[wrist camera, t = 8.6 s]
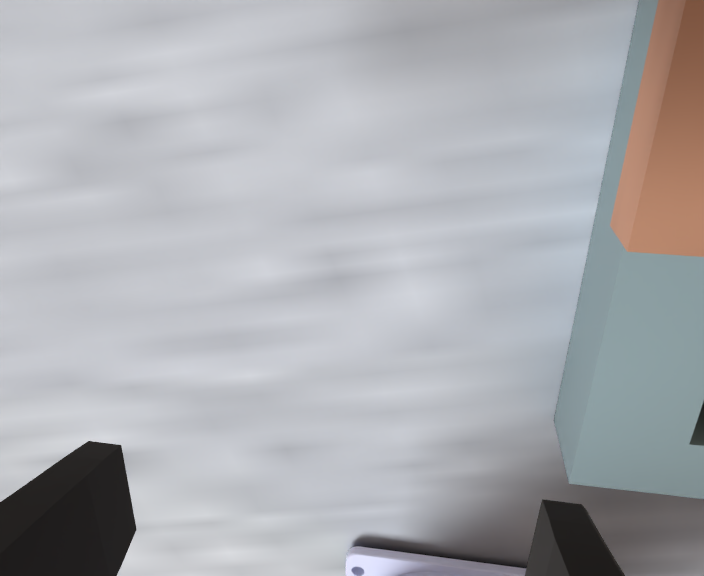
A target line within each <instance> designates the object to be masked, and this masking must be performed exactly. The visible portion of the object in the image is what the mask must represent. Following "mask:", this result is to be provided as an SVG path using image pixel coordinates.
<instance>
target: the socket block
mask: <svg viewBox="0 0 704 576" xmlns="http://www.w3.org/2000/svg"><path fill="white" fill-rule="evenodd" d="M657 5H658V0H639V3H638V8H637V13H636V18H635V23H634V28H633V33H632V38H631V43H630V48H629V52H628V57H627V62H626V67H625V72H624V77H623V82H622V87H621V92H620V97H619V102H618V107H617V112H616V117H615V122H614V126H613V131H612V136H611V141H610V146H609V151H608V156H607V161H606V166H605V171H604V176H603V181H602V186H601V191H600V195H599V200H598V205H597V210H596V215H595V220H594V225H593V230H592V235H591V240H590V245H589V250H588V255H587V260H586V265H585V269H584V274H583V279H582V284H581V289H580V294H579V299H578V304H577V309H576V314H575V319H574V324H573V329H572V334H571V339H570V343H569V348H568V353H567V358H566V363H565V368H564V373H563V378H562V383H561V388H560V393H559V398H558V403H557V408H556V412H555V417H554V422H555V427H556V431H557V435H558V439H559V444H560V448H561V452H562V456H563V461H564V465H565V469H566V473H567V477H568V482H569V484H576V485H584V486H593V487H602V488H610V489H619V490H628V491H637V492H645V493H654V494H663V495H672V496H680V497H689V498H698V499H704V257H697V256H682V255H667V254H653V253H638V252H627V251H626V249H625V248H624V246H623V245H622V243H621V242H620V240H619V239H618V237H617V236H616V234H615V233H614V231H613V230H612V228H611V227H610V223H611V218H612V214H613V209H614V204H615V200H616V195H617V190H618V186H619V181H620V176H621V172H622V167H623V163H624V158H625V153H626V149H627V144H628V139H629V135H630V130H631V125H632V121H633V116H634V111H635V107H636V102H637V98H638V93H639V88H640V84H641V79H642V74H643V70H644V65H645V60H646V56H647V51H648V47H649V42H650V37H651V33H652V28H653V23H654V19H655V14H656V9H657Z"/></svg>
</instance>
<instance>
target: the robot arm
mask: <svg viewBox="0 0 704 576" xmlns="http://www.w3.org/2000/svg"><path fill="white" fill-rule="evenodd" d="M135 531H136V525H135V519H134V514H133V508H132V503H131V497H130V492H129V486H128V481H127V475H126V469H125V464H124V458H123V453H122V447H121V445H115V444H107V443H99V442H92V441H88V442H87V443H85V444H84V445H82V446H81V447H79V448H78V449H76V450H75V451H73V452H72V453H70V454H69V455H67V456H66V457H64V458H63V459H62V460H60V461H59V462H57V463H56V464H54V465H53V466H52V467H50V468H49V469H47V470H46V471H44V472H43V473H42V474H40V475H39V476H37V477H36V478H35V479H33V480H32V481H30V482H29V483H27V484H26V485H25V486H23V487H22V488H20V489H19V490H17V491H16V492H15V493H13V494H12V495H10V496H9V497H7V498H6V499H4V500H3V501H2V502H0V576H117V573H118V571H119V569H120V567H121V565H122V562H123V560H124V558H125V555H126V553H127V551H128V548H129V546H130V543H131V541H132V539H133V536H134V534H135ZM346 576H625V575H624V573H623V572H622V570H621V568H620V567H619V565H618V564H617V562H616V560H615V559H614V557H613V555H612V554H611V552H610V550H609V549H608V547H607V545H606V544H605V542H604V540H603V538H602V537H601V535H600V533H599V532H598V530H597V528H596V526H595V525H594V523H593V521H592V519H591V518H590V516H589V514H588V512H587V511H586V509H585V508H584V507H583V506H582V505H581V504H573V503H565V502H558V501H550V500H542V503H541V507H540V511H539V516H538V520H537V525H536V529H535V533H534V538H533V542H532V546H531V551H530V555H529V560H528V564H527V568H519V567H511V566H504V565H496V564H488V563H481V562H473V561H466V560H458V559H451V558H443V557H436V556H428V555H421V554H413V553H405V552H398V551H390V550H383V549H375V548H368V547H360V546H355V547H352V548H350V549H349V550H348V552H347V557H346Z"/></svg>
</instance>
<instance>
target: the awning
mask: <svg viewBox="0 0 704 576" xmlns="http://www.w3.org/2000/svg"><path fill="white" fill-rule="evenodd" d="M610 227H611V228H612V230H613V231H614V233H615V234H616V236H617V237H618V239H619V240H620V242H621V243H622V245H623V246H624V248H625V249H626V251H627V252H638V253H653V254H667V255H682V256H697V257H704V0H658V5H657V9H656V14H655V19H654V23H653V28H652V33H651V37H650V42H649V47H648V51H647V56H646V60H645V65H644V70H643V74H642V79H641V84H640V88H639V93H638V98H637V102H636V107H635V111H634V116H633V121H632V125H631V130H630V135H629V139H628V144H627V149H626V153H625V158H624V163H623V167H622V172H621V176H620V181H619V186H618V190H617V195H616V200H615V204H614V209H613V214H612V218H611V223H610Z"/></svg>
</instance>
